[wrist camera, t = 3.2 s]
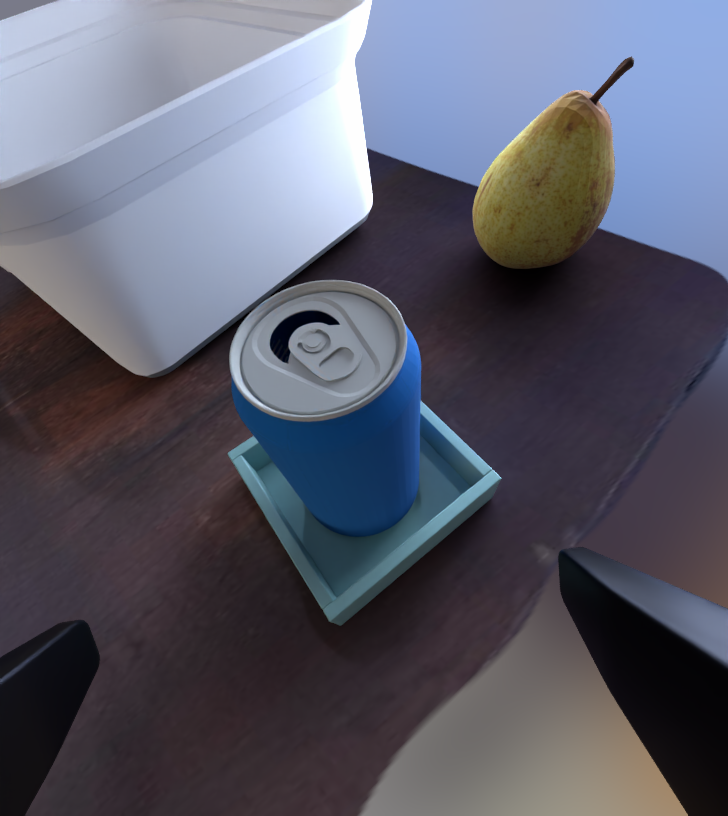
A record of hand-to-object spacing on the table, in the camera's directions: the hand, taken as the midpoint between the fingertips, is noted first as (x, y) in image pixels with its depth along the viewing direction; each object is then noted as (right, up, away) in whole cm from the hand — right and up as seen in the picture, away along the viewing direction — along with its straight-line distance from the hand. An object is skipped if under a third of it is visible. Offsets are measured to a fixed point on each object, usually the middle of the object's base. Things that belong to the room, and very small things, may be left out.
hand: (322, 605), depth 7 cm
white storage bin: (-15, +19, +30) cm, 38 cm away
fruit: (+14, +16, +24) cm, 32 cm away
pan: (+1, -1, +15) cm, 15 cm away
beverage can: (+1, -1, +15) cm, 15 cm away
